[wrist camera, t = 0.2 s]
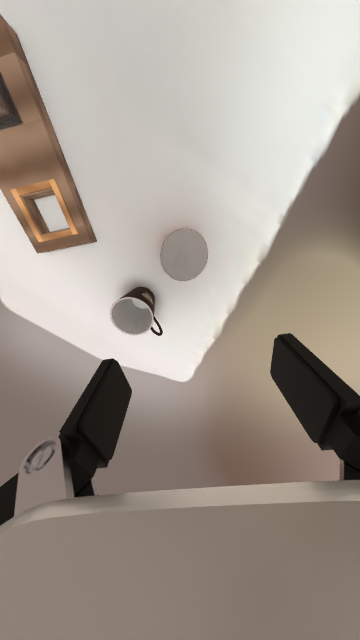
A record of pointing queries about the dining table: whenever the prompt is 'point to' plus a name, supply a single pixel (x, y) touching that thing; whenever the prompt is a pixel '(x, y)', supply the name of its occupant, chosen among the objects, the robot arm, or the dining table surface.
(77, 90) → the dining table surface
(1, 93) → the metal block
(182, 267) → the canned food
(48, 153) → the socket board
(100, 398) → the robot arm
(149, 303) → the coffee mug
